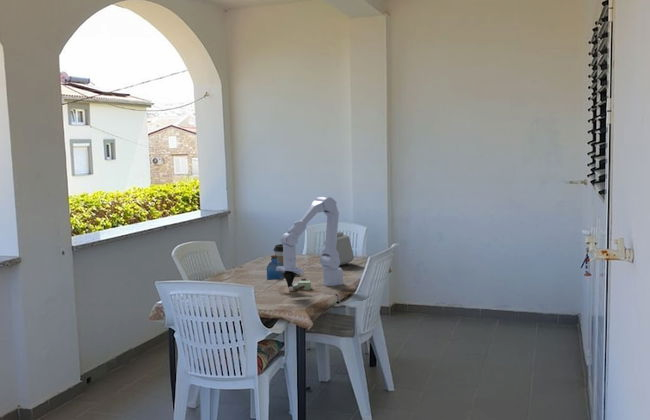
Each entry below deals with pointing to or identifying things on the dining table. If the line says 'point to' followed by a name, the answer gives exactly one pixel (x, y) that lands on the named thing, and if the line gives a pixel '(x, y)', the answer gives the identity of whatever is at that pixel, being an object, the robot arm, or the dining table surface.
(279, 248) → the coffee cup
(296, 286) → the link
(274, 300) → the dining table surface
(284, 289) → the board
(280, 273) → the perfume bottle
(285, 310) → the dining table surface
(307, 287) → the keeper
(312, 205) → the robot arm
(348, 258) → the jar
